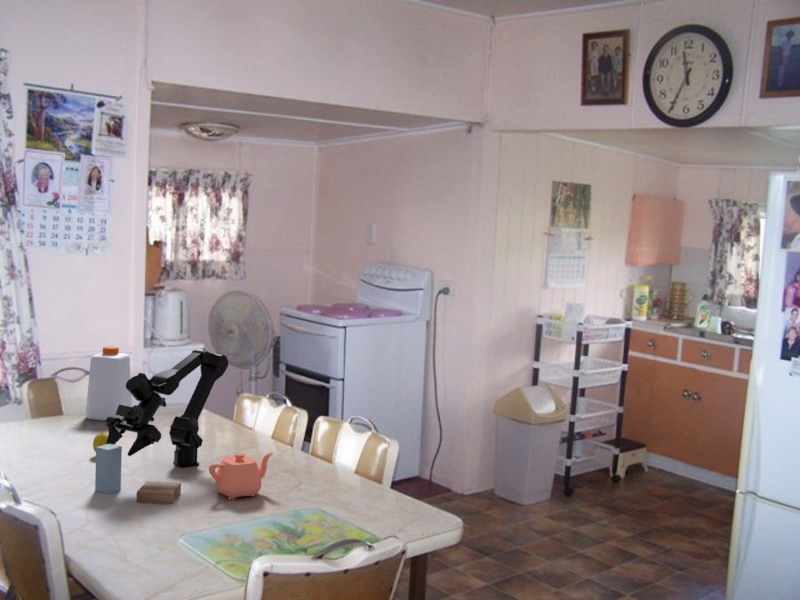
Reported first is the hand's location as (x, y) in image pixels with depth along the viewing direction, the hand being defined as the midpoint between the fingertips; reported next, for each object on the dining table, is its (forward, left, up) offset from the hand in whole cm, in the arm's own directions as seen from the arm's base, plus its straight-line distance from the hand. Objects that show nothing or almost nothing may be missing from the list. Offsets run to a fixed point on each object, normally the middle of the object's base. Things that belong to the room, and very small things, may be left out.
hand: (117, 452), depth 244 cm
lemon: (-8, -34, -11) cm, 36 cm away
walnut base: (-7, +15, -10) cm, 19 cm away
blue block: (+3, +1, -10) cm, 11 cm away
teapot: (-29, +23, -11) cm, 38 cm away
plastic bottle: (-29, -85, -11) cm, 90 cm away
